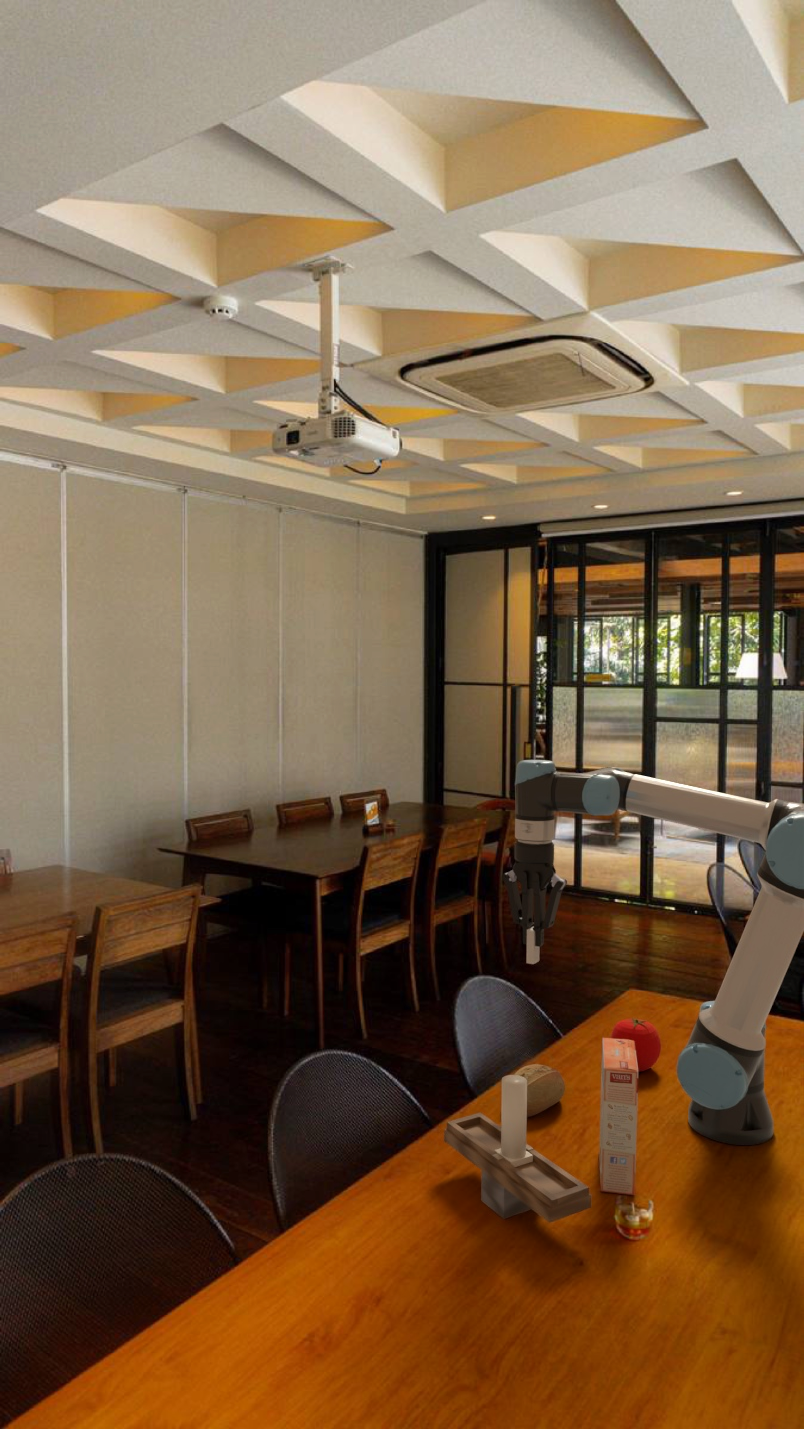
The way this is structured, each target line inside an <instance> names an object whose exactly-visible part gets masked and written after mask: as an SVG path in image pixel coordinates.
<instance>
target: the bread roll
mask: <svg viewBox="0 0 804 1429" xmlns="http://www.w3.org/2000/svg"><path fill="white" fill-rule="evenodd" d="M513 1075H519V1076H522V1077H524V1078H526V1079H527V1118H529V1117H534V1116H535V1115H537V1114H540V1113H542V1112H543V1111H546V1110H547V1109H549V1108H551V1107H552V1106H554V1105H556V1104H557V1103H559V1102H560V1101H561V1099H562V1098H563V1096H564V1094H565V1091H566V1090H565V1089H566V1084H565V1080H564V1078H563V1076H562V1074H561V1073H560V1071H559V1070H558V1069H556V1068H553V1067H551V1066H547V1065H544V1064H538V1063H534V1064H528V1065H525V1066H523V1067H521V1068H519V1069H518V1070H517V1071H516V1072H515V1073H514V1074H513Z"/></svg>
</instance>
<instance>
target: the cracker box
mask: <svg viewBox="0 0 804 1429" xmlns="http://www.w3.org/2000/svg"><path fill="white" fill-rule="evenodd" d="M601 1045H602V1046H601V1075H600V1076H601V1079H600V1081H601V1082H600V1109H599V1110H600V1111H599V1112H600V1115H599V1117H600V1118H599V1149H598V1150H599V1154H598V1155H599V1182H600V1183H599V1184H600V1192H603V1193H612V1194H621V1195H628V1196H635V1194H636V1169H637V1168H636V1164H637V1163H636V1161H637V1131H638V1129H637V1128H638V1101H639V1099H638V1097H639V1096H638V1094H639V1093H638V1092H639V1072H638V1065H637V1058H636V1049H635V1041H633V1040H628V1039H613V1038H611V1037H602V1043H601Z"/></svg>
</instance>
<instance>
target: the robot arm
mask: <svg viewBox="0 0 804 1429" xmlns="http://www.w3.org/2000/svg"><path fill="white" fill-rule="evenodd" d="M515 771H516V772H515V781H514V787H515V788H514V789H515V793H514V795H515V796H514V797H515V803H514V804H515V807H514V808H515V815H514V816H515V818H514V838H515V839H517V840H516V841H515V842H514V863H513V866H512V870H510V871H508V872H504V873H503V874H501V879H502V881H503V883H504V884H505V887H506V890H507V892H506V893H507V896H508V900H509V906H510V911H511V916H512V920H513V923H514V925H515V924H516V925H519V926H520V927H521V928H522V943H523V945H526V963H525V964H529V965H534V964H537V963H539V961H540V951H541V950H540V948H541V947H542V946H543V945H544V943H545V941H544V940H545V929H546V930H547V929H549V928H551V927H553V926H554V924H555V919H556V917H557V916H556V915H557V913H558V912H557V911H558V908H559V903H560V900H561V896H562V891H563V890H564V888H565V887H566V886H567V884H568V880H567V879H566V878H561V877H560V876H559V875H558V874H557V870H556V868H555V866H554V861H555V843H554V842H553V841H552V840H554V839H555V812H557V813H569V814H570V813H572V814H573V813H574V814H581V815H592V816H595V817H597V816H612V815H614V814H615V813H616V811H617V810H619V811H624V812H628V813H633V814H636V815H637V814H638V815H641V816H645V817H648V818H654V819H658V820H661V821H665V822H671V823H675V824H678V825H683V826H687V827H690V828H696V829H699V830H704V831H708V832H712V833H716V834H720V835H725V836H729V837H733V838H738V839H741V840H744V841H745V840H746V841H750V842H753V843H758V844H760V845H761V846H762V848H763V849H764V851H765V852H764V855H763V857H762V860H761V862H760V865H759V868H758V870H757V873H756V876H757V878H758V880H759V882H760V884H761V887H760V890H759V893H758V896H757V898H756V900H755V901H754V902H755V903H754V904H753V908H752V910H751V912H750V914H749V917H748V919H747V922H746V924H745V927H744V930H743V931H742V933H741V937H740V940H739V941H738V944H737V946H736V948H735V951H734V954H733V956H732V958H731V961H730V964H729V966H728V968H727V971H726V973H725V976H724V978H723V980H722V983H721V986H720V987H719V990H718V993H717V994H716V998H715V1000H710V1001H704V1002H703V1003H701V1005H700V1008H699V1013H698V1016H697V1019H696V1021H695V1025H694V1027H693V1029H692V1031H691V1033H690V1036H689V1038H688V1041H687V1043H686V1044H685V1047H684V1048H683V1049H682V1050H681V1052H680V1053H679V1055H678V1057H677V1063H676V1075H677V1080H678V1082H679V1083H680V1086H681V1087H682V1090H683V1091H684V1092H685V1094H686V1095H687V1096H689V1098H690V1099H691V1100H690V1103H689V1106H688V1114H687V1115H688V1116H687V1118H688V1119H687V1120H688V1125H689V1126H690V1127H691V1128H692V1129H693V1130H694V1131H695V1132H697V1133H698V1134H700V1135H701V1136H703V1137H705V1138H708V1139H709V1140H713V1141H716V1142H720V1143H723V1144H729V1145H736V1146H753V1145H754V1146H755V1145H759V1144H763V1143H765V1142H768V1141H770V1139H772V1137H773V1135H774V1120H773V1119H774V1118H773V1115H772V1112H771V1109H770V1106H769V1103H768V1098H767V1096H766V1092H765V1063H766V1062H765V1059H766V1058H765V1054H766V1053H765V1052H766V1050H765V1049H766V1045H767V1040H766V1030H767V1025H766V1021H767V1019H768V1016H769V1013H770V1011H771V1009H772V1006H773V1005H774V1002H775V999H776V997H777V995H778V992H779V990H780V988H781V985H782V984H783V981H784V978H785V976H786V973H787V971H788V969H789V967H790V964H791V962H792V960H793V957H794V955H795V953H796V950H797V948H798V945H799V943H800V940H801V938H802V936H803V934H804V803H803V802H797V801H796V802H795V801H789V800H788V801H787V800H783V799H778V798H775V799H774V800H771V801H770V802H766V801H762V800H757V799H752V798H748V797H743V796H738V795H735V794H734V795H733V794H729V793H724V792H719V791H716V790H711V789H706V788H701V787H697V786H691V785H687V784H683V783H677V782H673V781H669V780H664V779H659V778H655V777H650V776H645V775H641V774H634V773H631V772H628V771H627V772H626V771H625V770H623V769H622V768H619V767H613V766H605V767H601V768H599V769H596V770H593V771H592V770H591V771H588V772H581V773H579V772H561V771H557V768H556V764H555V762H554V761H552V760H547V759H524V760H520V761H518V763H517V764H516V769H515ZM517 880H518V882H519V884H520V889H519V885H518V882H517ZM550 883H551V887H552V889H551V891H550V895H549V898H548V902H547V907H546V893H547V886H548V885H549V884H550ZM520 892H521V894H522V896H520ZM533 921H534V922H533Z"/></svg>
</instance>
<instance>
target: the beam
mask: <svg viewBox="0 0 804 1429" xmlns="http://www.w3.org/2000/svg"><path fill="white" fill-rule="evenodd" d="M443 1130H444V1131H443V1132H444V1133H443V1136H444V1138H443V1140H444V1141H443V1142H445V1144H447V1145H448V1146H450V1147H451V1148H452V1149H454V1150H455V1151H456V1152H458V1153H459V1154H460V1155H461V1156H463V1157H464V1158H465V1159H467V1160H468V1161H469V1162H471V1163H472V1164H473V1165H474V1166H475V1167H477V1168H478V1169H480V1170H481V1177H480V1178H481V1181H480V1183H481V1185H480V1186H481V1188H480V1189H481V1190H480V1191H481V1192H480V1196H481V1198H480V1200H481V1202H482V1203H483V1204H485V1205H486V1206H487V1207H489V1208H490V1209H491V1210H492V1211H493V1212H495V1214H497V1215H498V1216H500V1217H501V1218H502V1219H503V1220H505V1219H509V1218H510V1217H513V1216H515V1215H519V1214H521V1213H525V1212H527V1211H530V1210H532V1211H533V1212H535V1213H536V1214H537V1215H538V1216H540V1217H541V1218H543V1220H545V1221H546V1222H547V1223H549V1224H550V1223H552V1222H556V1221H558V1220H561V1219H564V1218H567V1217H569V1216H572V1215H575V1214H578V1213H580V1212H583V1211H586V1210H588V1209H591V1208H592V1194H591V1193H590V1187H589V1186H588V1185H586V1184H585V1183H583V1182H582V1181H580V1180H579V1179H577V1178H576V1177H574V1176H573V1175H571V1174H570V1173H569V1172H567V1171H566V1170H565V1169H563V1168H561V1167H560V1166H558V1165H557V1164H555V1163H554V1162H553V1161H551V1160H550V1159H548V1158H547V1157H545V1156H544V1155H542V1153H539V1152H538V1151H537V1150H535V1149H534V1148H533V1147H532V1146H531V1145H529V1144H528V1143H526V1151H528V1152H529V1153H530V1154H532V1155H533V1162H530V1163H527V1164H523V1165H520V1166H517V1167H514V1166H513V1165H511V1164H510V1163H509V1162H507V1161H506V1160H505V1159H503V1157H502V1156H500V1155H499V1154H498V1153H495V1152H494V1150H496V1149H500V1148H501V1125H499V1124H498V1123H496V1122H495V1121H494V1120H492V1119H491V1118H489V1117H488V1116H486V1115H485V1114H483V1113H482V1112H477V1113H474V1114H470V1115H467V1116H463V1117H459V1118H457V1119H453V1120H449V1121H446V1128H444V1129H443Z"/></svg>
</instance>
